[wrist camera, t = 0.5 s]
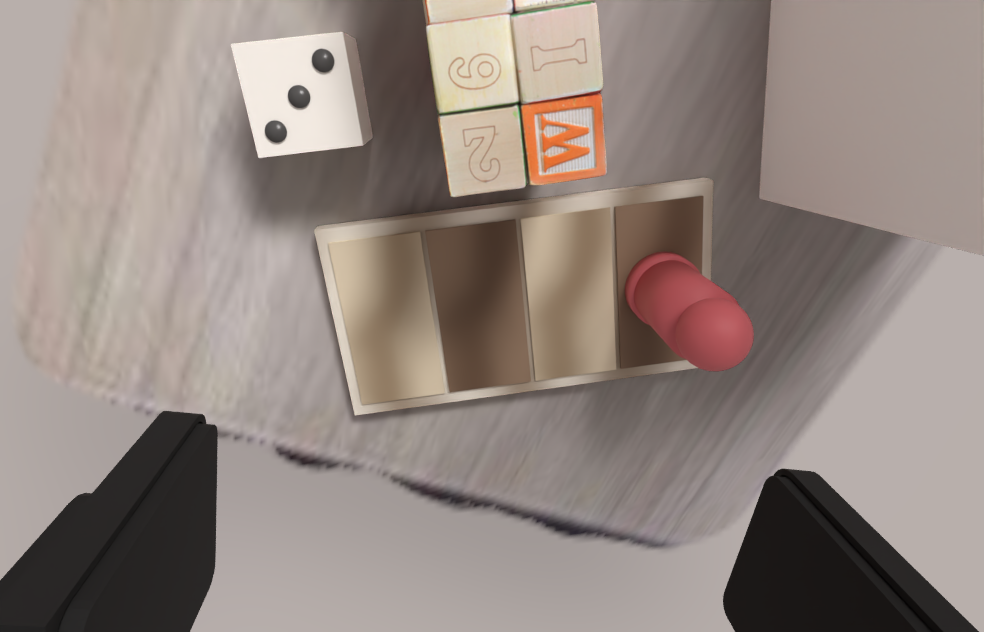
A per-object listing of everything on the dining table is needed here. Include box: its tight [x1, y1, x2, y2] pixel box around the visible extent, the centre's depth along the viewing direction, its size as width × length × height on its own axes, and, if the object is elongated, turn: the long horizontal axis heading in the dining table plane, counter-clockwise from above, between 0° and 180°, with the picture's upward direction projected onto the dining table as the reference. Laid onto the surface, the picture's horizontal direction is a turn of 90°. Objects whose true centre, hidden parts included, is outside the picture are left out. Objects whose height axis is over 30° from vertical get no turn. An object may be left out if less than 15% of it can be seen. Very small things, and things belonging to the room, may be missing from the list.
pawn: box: [625, 252, 754, 371], centre depth 32 cm, size 4×4×9 cm
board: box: [314, 178, 713, 415], centre depth 37 cm, size 23×12×1 cm, turn 96°
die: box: [231, 32, 373, 158], centre depth 30 cm, size 5×5×5 cm
